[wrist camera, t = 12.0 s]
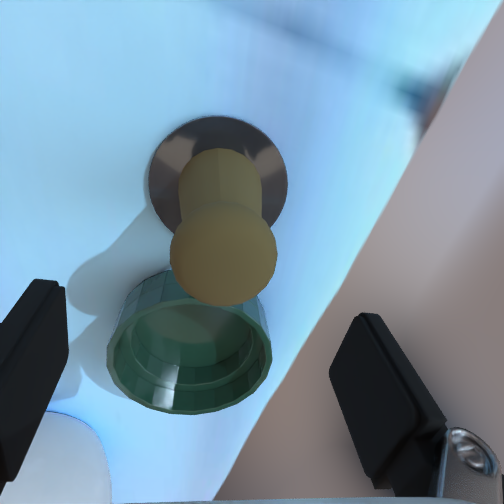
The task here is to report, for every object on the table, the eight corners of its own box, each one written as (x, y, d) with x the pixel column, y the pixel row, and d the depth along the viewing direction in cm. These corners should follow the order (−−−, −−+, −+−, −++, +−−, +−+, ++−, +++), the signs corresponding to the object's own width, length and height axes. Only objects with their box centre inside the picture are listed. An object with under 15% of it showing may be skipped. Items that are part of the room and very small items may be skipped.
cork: (248, 235, 27) (267, 334, 17) (170, 217, 25) (145, 315, 16) (272, 161, 24) (312, 230, 14) (187, 137, 23) (169, 196, 13)
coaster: (144, 236, 26) (143, 239, 26) (155, 99, 22) (154, 100, 21) (268, 254, 28) (269, 257, 28) (303, 132, 24) (304, 133, 23)
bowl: (117, 369, 33) (105, 411, 29) (123, 255, 27) (108, 288, 23) (248, 378, 36) (252, 418, 32) (280, 276, 30) (290, 309, 26)
